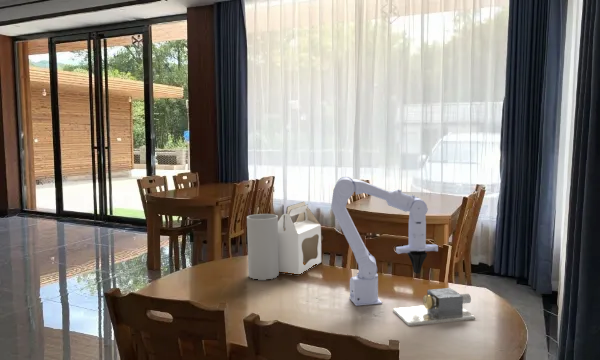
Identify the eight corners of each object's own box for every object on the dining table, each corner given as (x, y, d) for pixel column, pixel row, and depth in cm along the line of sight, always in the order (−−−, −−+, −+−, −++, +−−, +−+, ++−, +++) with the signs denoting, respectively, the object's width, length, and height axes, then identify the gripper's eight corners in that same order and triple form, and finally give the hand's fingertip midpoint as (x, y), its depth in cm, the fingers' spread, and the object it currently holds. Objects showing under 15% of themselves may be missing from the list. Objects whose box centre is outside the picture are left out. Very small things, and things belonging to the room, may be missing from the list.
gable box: (298, 275, 194) (297, 208, 191) (271, 271, 200) (269, 206, 197) (321, 262, 213) (320, 201, 210) (296, 259, 219) (295, 199, 216)
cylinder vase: (278, 280, 187) (276, 219, 185) (246, 281, 188) (245, 219, 185) (279, 271, 200) (278, 213, 197) (250, 272, 200) (248, 214, 197)
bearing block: (408, 325, 142) (408, 303, 141) (393, 311, 154) (393, 290, 153) (474, 319, 146) (475, 297, 145) (454, 305, 158) (455, 285, 157)
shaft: (429, 311, 147) (429, 297, 147) (423, 306, 151) (423, 293, 151) (472, 307, 150) (472, 293, 149) (464, 302, 154) (464, 289, 154)
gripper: (401, 237, 154) (401, 277, 155) (442, 234, 157) (442, 274, 158) (393, 232, 161) (393, 271, 162) (432, 230, 164) (432, 268, 165)
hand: (416, 272), depth 161 cm, fingers closed
